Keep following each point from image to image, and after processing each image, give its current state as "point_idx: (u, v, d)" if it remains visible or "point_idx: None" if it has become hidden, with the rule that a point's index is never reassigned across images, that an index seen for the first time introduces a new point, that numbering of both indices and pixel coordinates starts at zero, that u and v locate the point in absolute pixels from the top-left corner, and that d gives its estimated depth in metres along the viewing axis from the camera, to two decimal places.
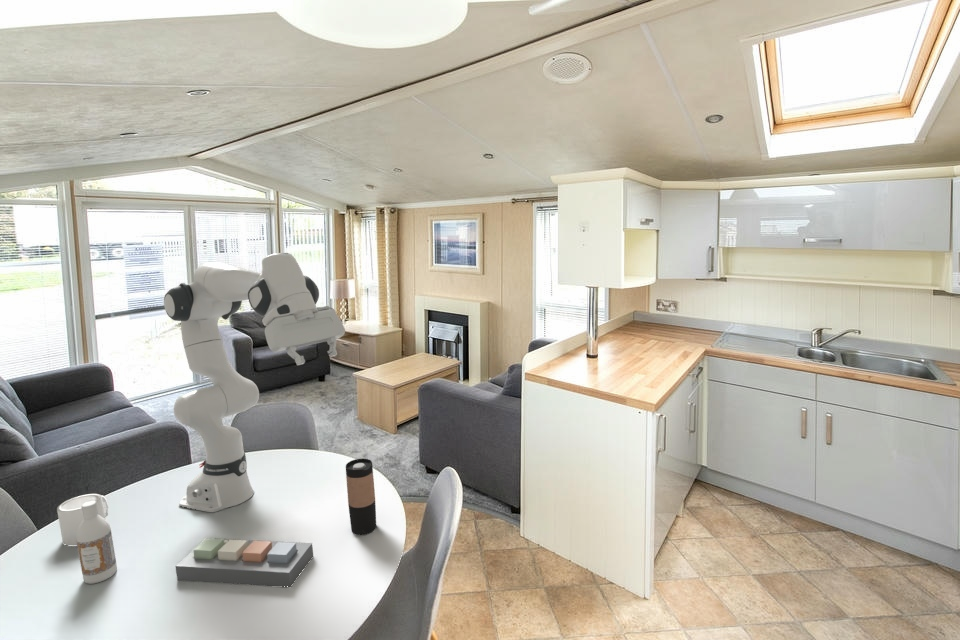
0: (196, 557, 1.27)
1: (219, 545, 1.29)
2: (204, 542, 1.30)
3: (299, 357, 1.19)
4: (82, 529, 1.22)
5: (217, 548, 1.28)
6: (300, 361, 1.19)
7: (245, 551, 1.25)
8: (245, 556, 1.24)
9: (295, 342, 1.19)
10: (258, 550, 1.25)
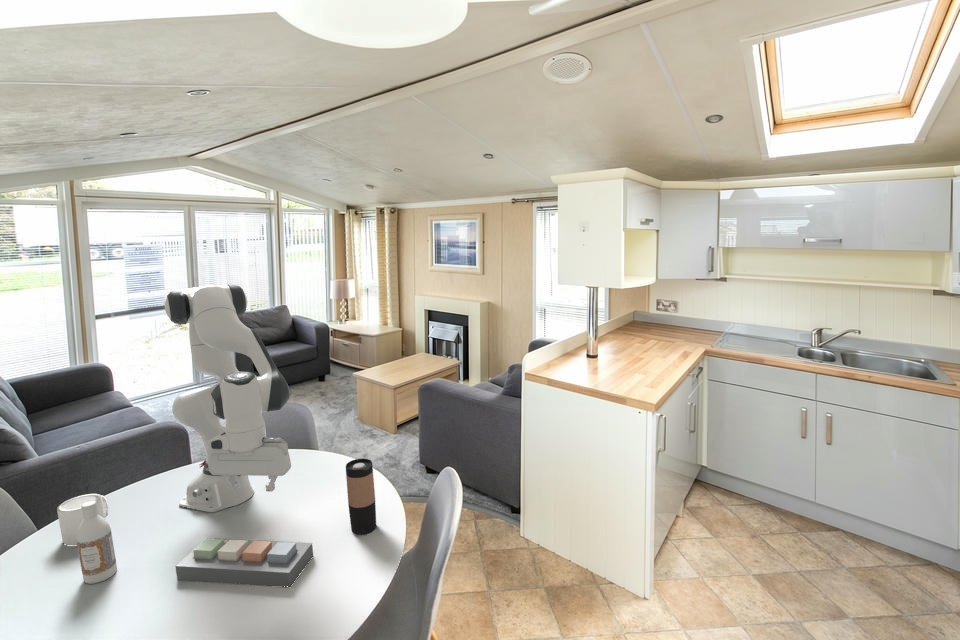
0: (196, 557, 1.27)
1: (219, 545, 1.29)
2: (204, 542, 1.30)
3: (231, 486, 1.24)
4: (82, 529, 1.22)
5: (217, 548, 1.28)
6: (231, 489, 1.24)
7: (245, 551, 1.25)
8: (245, 556, 1.24)
9: (227, 474, 1.22)
10: (258, 550, 1.25)
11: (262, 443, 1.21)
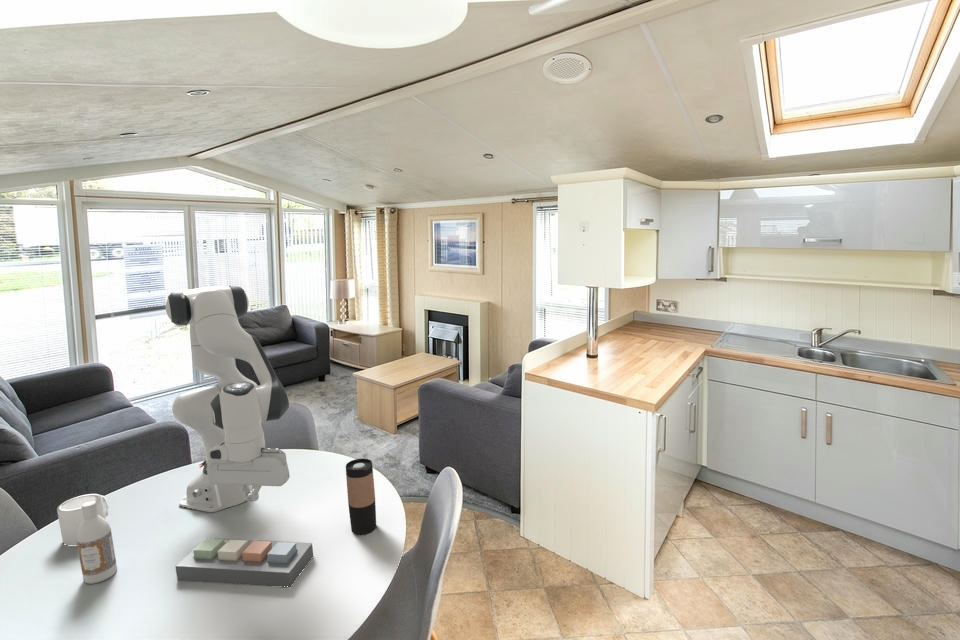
0: (196, 557, 1.27)
1: (219, 545, 1.29)
2: (204, 542, 1.30)
3: (244, 496, 1.23)
4: (82, 529, 1.22)
5: (217, 548, 1.28)
6: (245, 499, 1.24)
7: (245, 551, 1.25)
8: (245, 556, 1.24)
9: (226, 483, 1.23)
10: (258, 550, 1.25)
11: (261, 453, 1.21)
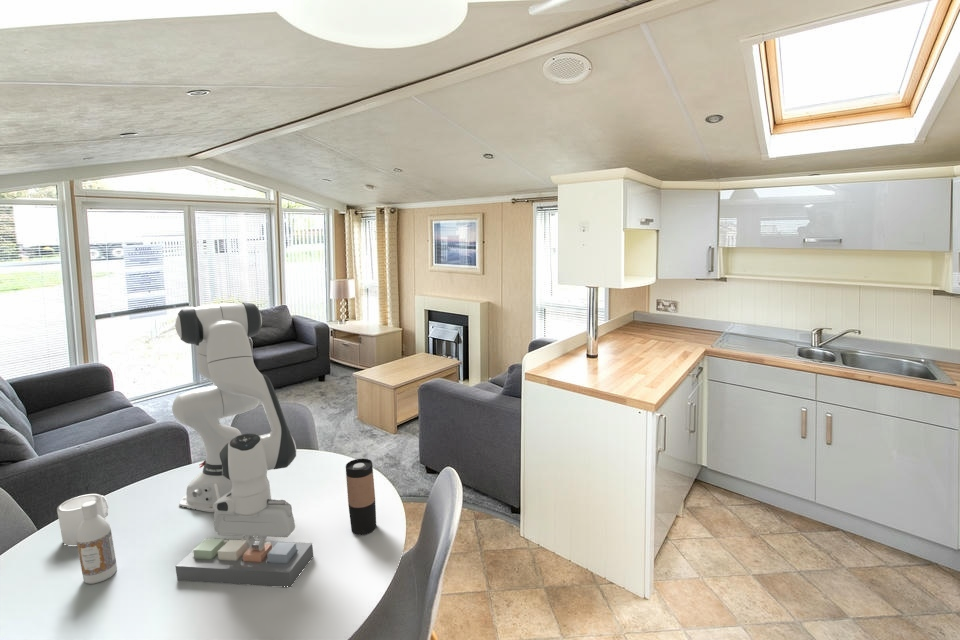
0: (196, 557, 1.27)
1: (219, 545, 1.29)
2: (204, 542, 1.30)
3: (251, 546, 1.26)
4: (82, 529, 1.22)
5: (217, 548, 1.28)
6: (251, 549, 1.26)
7: (245, 553, 1.25)
8: (245, 558, 1.25)
9: (232, 534, 1.25)
10: (258, 552, 1.25)
11: (267, 505, 1.23)
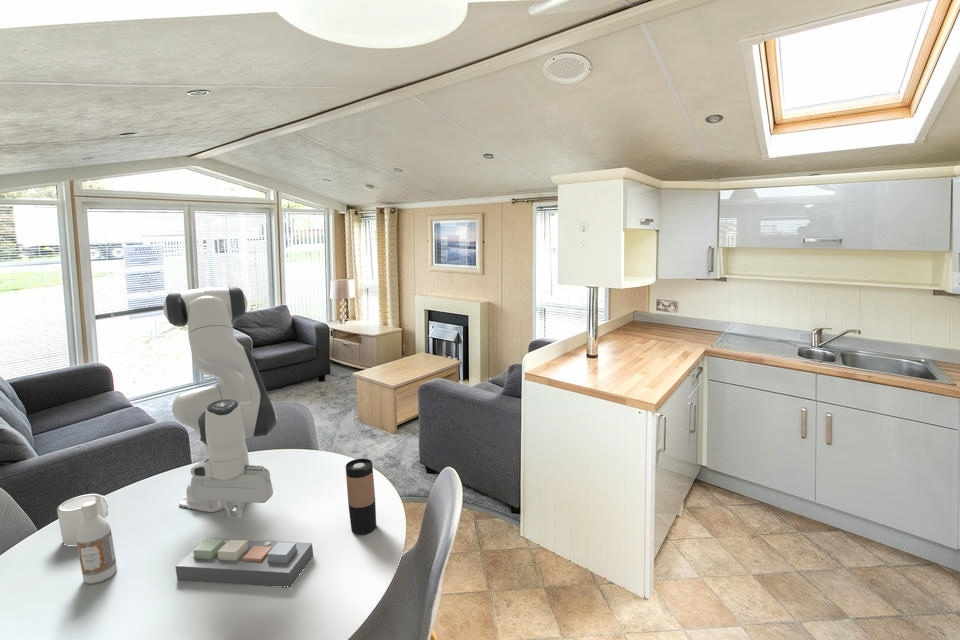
0: (196, 557, 1.27)
1: (219, 545, 1.29)
2: (204, 542, 1.30)
3: (228, 511, 1.25)
4: (82, 529, 1.22)
5: (217, 548, 1.28)
6: (229, 515, 1.26)
7: (246, 556, 1.25)
8: (246, 561, 1.25)
9: (210, 499, 1.24)
10: (259, 555, 1.25)
11: (244, 471, 1.23)
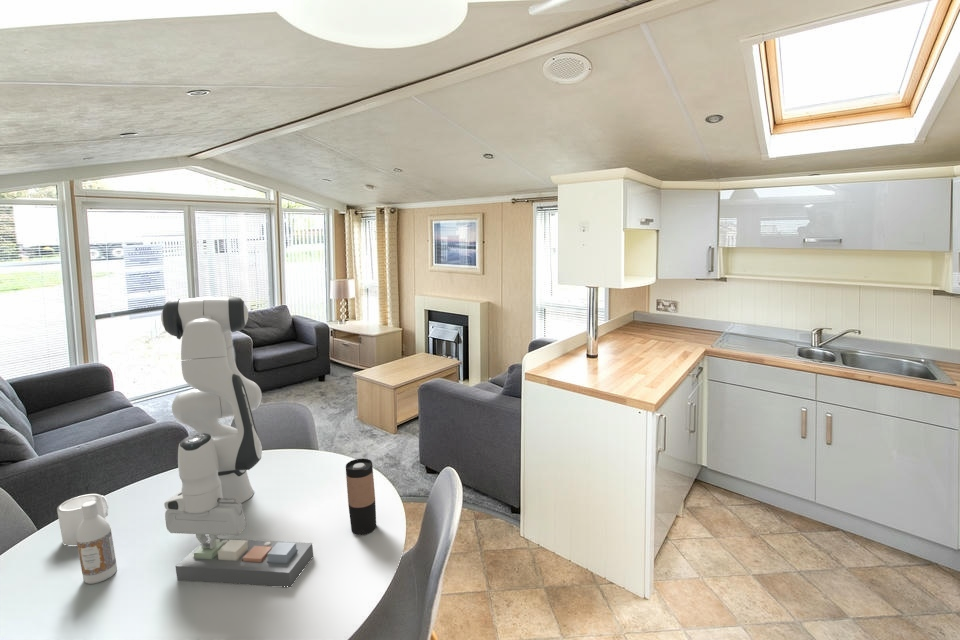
0: None
1: (219, 548, 1.29)
2: None
3: (202, 544, 1.27)
4: (82, 529, 1.22)
5: (217, 551, 1.28)
6: (202, 547, 1.28)
7: (246, 556, 1.25)
8: (246, 561, 1.25)
9: (183, 532, 1.27)
10: (259, 555, 1.25)
11: (217, 504, 1.25)
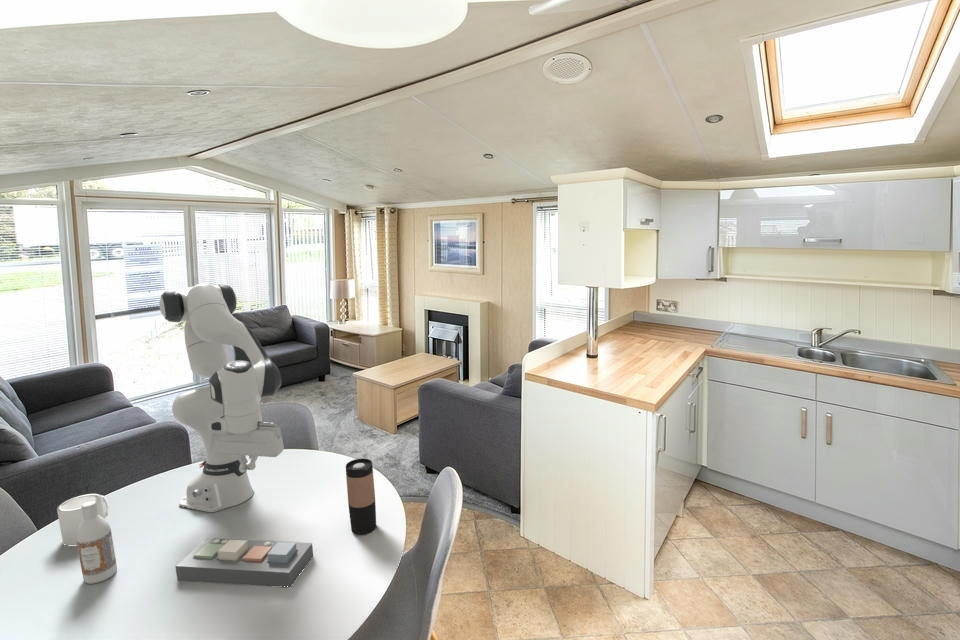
0: None
1: None
2: (205, 547, 1.30)
3: (242, 465, 1.35)
4: (82, 529, 1.22)
5: None
6: (243, 468, 1.35)
7: (246, 556, 1.25)
8: (246, 561, 1.25)
9: (225, 453, 1.34)
10: (259, 555, 1.25)
11: (257, 426, 1.32)
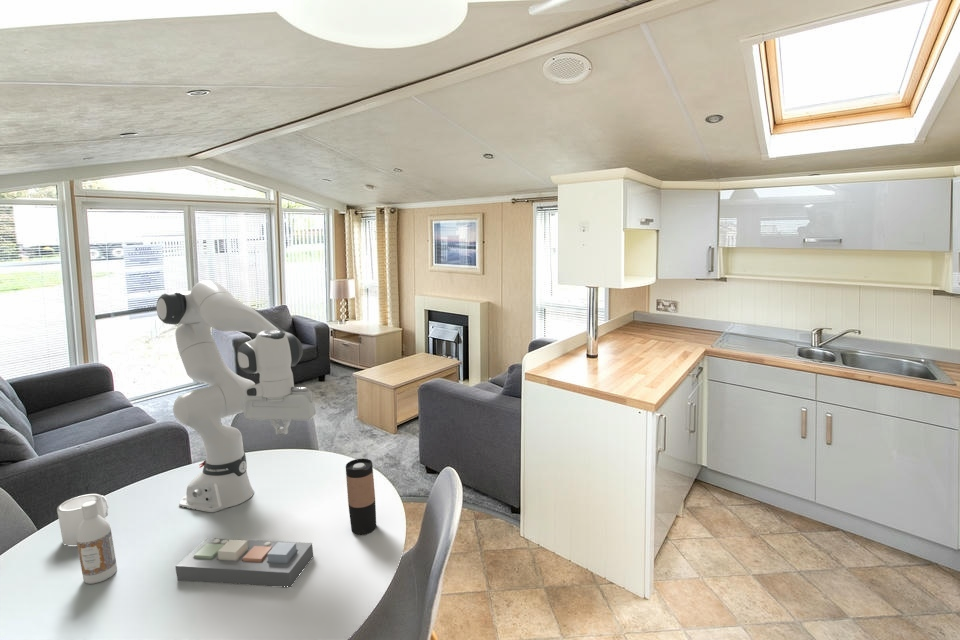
0: None
1: None
2: (205, 547, 1.30)
3: (276, 430, 1.41)
4: (82, 529, 1.22)
5: None
6: (276, 433, 1.41)
7: (246, 556, 1.25)
8: (246, 561, 1.25)
9: (260, 418, 1.40)
10: (259, 555, 1.25)
11: (291, 392, 1.39)
